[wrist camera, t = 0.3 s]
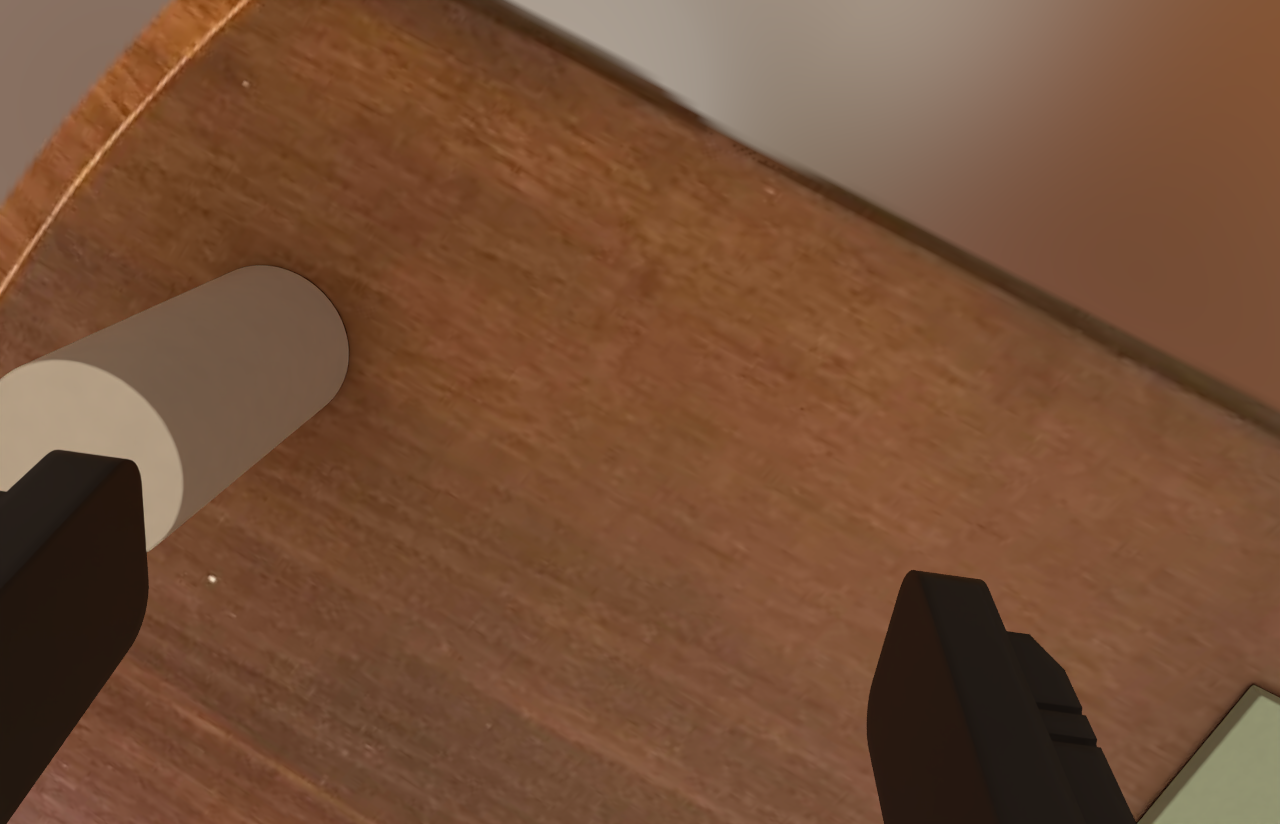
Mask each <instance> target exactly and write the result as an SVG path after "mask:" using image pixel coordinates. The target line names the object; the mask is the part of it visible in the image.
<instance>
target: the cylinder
mask: <svg viewBox="0 0 1280 824" xmlns="http://www.w3.org/2000/svg"><path fill="white" fill-rule="evenodd" d="M348 361H349V348H348V340H347V335H346V331H345V328H344V325H343V323H342V320H341V318H340V316H339V314H338V312H337V311H336V309H335V307H334V306H333V304H332V303H331V302H330V300H329V299H328V298H327V297H326V296H325V294H324V293H323V292H321V291H320V290H319V289H318V288H317V287H316V286H315V285H313V284H312V283H311V282H309V281H308V280H307V279H305V278H303V277H301V276H300V275H298V274H296V273H293V272H291V271H289V270H286V269H282V268H279V267H274V266H267V265H255V266H247V267H243V268H239V269H236V270H234V271H232V272H229V273H227V274H225V275H223V276H220V277H218V278H216V279H214V280H212V281H209V282H207V283H205V284H203V285H200V286H198V287H196V288H194V289H192V290H189V291H187V292H185V293H183V294H180V295H178V296H176V297H174V298H171V299H169V300H167V301H165V302H163V303H160V304H158V305H156V306H154V307H151V308H149V309H147V310H145V311H143V312H140V313H138V314H136V315H134V316H131V317H129V318H127V319H125V320H122V321H120V322H118V323H116V324H114V325H111V326H109V327H107V328H105V329H102V330H100V331H98V332H96V333H94V334H91V335H89V336H87V337H85V338H82V339H80V340H78V341H76V342H73V343H71V344H69V345H67V346H65V347H62V348H60V349H58V350H56V351H53V352H51V353H49V354H47V355H45V356H42V357H40V358H38V359H36V360H33V361H31V362H29V363H27V364H24V365H22V366H20V367H18V368H16V369H14V370H12V371H11V372H9V373H8V374H6V375H5V376H4V377H3V378H1V379H0V491H6V492H7V491H8V490H9V489H10V488H11V487H12V486H13V485H14V484H15V483H16V482H17V481H19V480H20V479H21V478H22V477H23V476H24V475H25V474H26V473H27V472H28V471H29V470H30V469H31V468H33V467H34V466H35V465H36V464H37V463H38V462H39V461H40V460H41V459H42V458H43V457H44V456H45V455H47V454H48V453H49V452H51V451H53V450H65V451H73V452H80V453H87V454H94V455H101V456H109V457H116V458H123V459H129V460H132V461H134V462H135V463H136V465H137V466H138V469H139V471H140V475H141V481H142V493H143V508H144V523H145V538H146V552H148V551H150V550H152V549H153V548H154V547H155V546H157V545H158V544H159V543H160V542H162V541H163V540H164V539H165V538H166V537H168V536H169V535H170V534H171V533H173V532H174V531H175V530H176V529H177V528H179V527H180V526H181V525H182V524H183V523H185V522H186V521H187V520H188V519H189V518H191V517H192V516H193V515H194V514H195V513H197V512H198V511H199V510H200V509H201V508H203V507H204V506H205V505H206V504H207V503H209V502H210V501H211V500H212V499H213V498H215V497H216V496H217V495H218V494H220V493H221V492H222V491H223V490H224V489H226V488H227V487H228V486H229V485H230V484H232V483H233V482H234V481H235V480H236V479H238V478H239V477H240V476H241V475H242V474H244V473H245V472H246V471H247V470H248V469H250V468H251V467H252V466H253V465H254V464H256V463H257V462H258V461H259V460H260V459H262V458H263V457H264V456H265V455H267V454H268V453H269V452H270V451H271V450H273V449H274V448H275V447H276V446H277V445H279V444H280V443H281V442H282V441H283V440H285V439H286V438H287V437H288V436H289V435H291V434H292V433H293V432H294V431H295V430H297V429H298V428H299V427H300V426H301V425H303V424H304V423H305V422H306V421H307V420H309V419H310V418H311V417H312V416H314V415H315V414H316V413H317V412H318V411H320V410H321V409H322V408H323V407H324V406H326V405H327V404H328V403H329V402H330V401H331V400H332V399H333V398H334V397H335V395H336V394H337V392H338V391H339V389H340V387H341V385H342V383H343V381H344V379H345V375H346V372H347V367H348Z"/></svg>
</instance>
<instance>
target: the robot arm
mask: <svg viewBox="0 0 1280 824" xmlns="http://www.w3.org/2000/svg"><path fill="white" fill-rule="evenodd" d="M148 589H149V585H148V567H147V552H146V538H145V523H144V508H143V493H142V481H141V475H140V471H139V469H138V466H137V465H136V463H135V462H134V461H132V460H129V459H123V458H116V457H109V456H101V455H94V454H87V453H80V452H73V451H65V450H53V451H51V452H49V453H48V454H47V455H45V456H44V457H43V458H42V459H41V460H40V461H39V462H38V463H37V464H36V465H35V466H34V467H33V468H31V469H30V470H29V471H28V472H27V473H26V474H25V475H24V476H23V477H22V478H21V479H20V480H19V481H17V482H16V483H15V484H14V485H13V486H12V487H11V488H10V489H9V490H8V491H7V492H6V491H0V824H7V822H8V821H9V819H10V818H11V817H12V815H13V814H14V812H15V811H16V809H17V808H18V807H19V805H20V804H21V802H22V801H23V800H24V798H25V797H26V795H27V794H28V792H29V791H30V790H31V788H32V787H33V785H34V784H35V782H36V781H37V780H38V778H39V777H40V775H41V774H42V773H43V771H44V770H45V768H46V767H47V765H48V764H49V763H50V761H51V760H52V758H53V757H54V755H55V754H56V753H57V751H58V750H59V748H60V747H61V746H62V744H63V743H64V741H65V740H66V738H67V737H68V736H69V734H70V733H71V731H72V730H73V728H74V727H75V726H76V724H77V723H78V721H79V720H80V719H81V717H82V716H83V714H84V713H85V711H86V710H87V709H88V707H89V706H90V704H91V703H92V701H93V700H94V699H95V697H96V696H97V694H98V693H99V692H100V690H101V689H102V687H103V686H104V684H105V683H106V682H107V680H108V679H109V677H110V676H111V674H112V673H113V672H114V670H115V669H116V667H117V666H118V665H119V663H120V662H121V660H122V659H123V657H124V656H125V655H126V653H127V652H128V650H129V649H130V647H131V646H132V644H133V643H134V641H135V639H136V637H137V635H138V633H139V630H140V628H141V625H142V622H143V619H144V615H145V611H146V606H147V600H148ZM867 740H868V747H869V752H870V757H871V762H872V767H873V772H874V777H875V782H876V786H877V791H878V796H879V801H880V806H881V811H882V816H883V820H884V824H1136V822H1135V820H1134V818H1133V815H1132V813H1131V811H1130V809H1129V807H1128V805H1127V803H1126V800H1125V798H1124V796H1123V794H1122V792H1121V790H1120V788H1119V785H1118V783H1117V781H1116V779H1115V777H1114V775H1113V773H1112V771H1111V768H1110V766H1109V764H1108V762H1107V760H1106V758H1105V756H1104V753H1103V751H1102V749H1101V748H1099V747H1097V746H1096V742H1097V738H1096V736H1095V734H1094V732H1093V730H1092V728H1091V726H1090V723H1089V721H1088V719H1087V717H1086V716H1085V715H1082V706H1081V704H1080V702H1079V700H1078V698H1077V696H1076V693H1075V691H1074V689H1073V687H1072V685H1071V683H1070V681H1069V678H1068V676H1067V674H1066V672H1065V670H1064V669H1063V668H1062V667H1061V666H1060V665H1059V664H1058V663H1057V662H1056V661H1055V660H1054V659H1053V658H1052V657H1051V656H1050V655H1049V654H1048V653H1047V652H1046V651H1045V650H1044V649H1043V648H1042V647H1041V646H1040V645H1039V644H1038V643H1037V642H1036V641H1035V640H1034V639H1033V638H1032V637H1031V636H1030V635H1029V634H1022V633H1015V632H1008V631H1006V630H1005V627H1004V625H1003V622H1002V620H1001V617H1000V615H999V613H998V610H997V608H996V605H995V603H994V601H993V598H992V596H991V593H990V591H989V589H988V587H987V585H986V583H985V582H984V581H982V580H980V579H973V578H966V577H959V576H952V575H944V574H937V573H930V572H923V571H916V570H911V571H909V572H908V573H907V575H906V576H905V578H904V580H903V582H902V584H901V587H900V590H899V593H898V597H897V600H896V604H895V607H894V610H893V614H892V617H891V620H890V624H889V627H888V631H887V634H886V637H885V641H884V644H883V648H882V651H881V654H880V658H879V661H878V664H877V668H876V671H875V675H874V678H873V681H872V685H871V689H870V694H869V701H868V710H867Z"/></svg>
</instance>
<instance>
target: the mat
mask: <svg viewBox="0 0 1280 824" xmlns="http://www.w3.org/2000/svg"><path fill="white" fill-rule="evenodd" d="M1137 824H1280V698H1279V697H1277V696H1275V695H1273V694H1271V693H1269V692H1267V691H1265V690H1263V689H1261V688H1259V687H1257V686H1255V685H1252V686H1251V687H1250V688H1249V690H1248V691H1247V692H1246V693H1245V694H1244V696H1243V697H1242V698H1241V699H1240V700H1239V702H1238V703H1237V704H1236V705H1235V706H1234V708H1233V709H1232V710H1231V711H1230V712H1229V714H1228V715H1227V716H1226V717H1225V718H1224V720H1223V721H1222V722H1221V723H1220V724H1219V726H1218V727H1217V728H1216V729H1215V730H1214V732H1213V733H1212V734H1211V735H1210V737H1209V738H1208V739H1207V740H1206V741H1205V743H1204V744H1203V745H1202V746H1201V747H1200V749H1199V750H1198V751H1197V752H1196V753H1195V755H1194V756H1193V757H1192V758H1191V759H1190V761H1189V762H1188V763H1187V764H1186V765H1185V767H1184V768H1183V769H1182V770H1181V771H1180V773H1179V774H1178V775H1177V776H1176V777H1175V779H1174V780H1173V781H1172V782H1171V783H1170V785H1169V786H1168V787H1167V788H1166V789H1165V791H1164V792H1163V793H1162V794H1161V795H1160V797H1159V798H1158V799H1157V800H1156V801H1155V803H1154V804H1153V805H1152V806H1151V807H1150V809H1149V810H1148V811H1147V812H1146V813H1145V815H1144V816H1143V817H1142V818H1141V819H1140V821H1139V822H1138V823H1137Z"/></svg>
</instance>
